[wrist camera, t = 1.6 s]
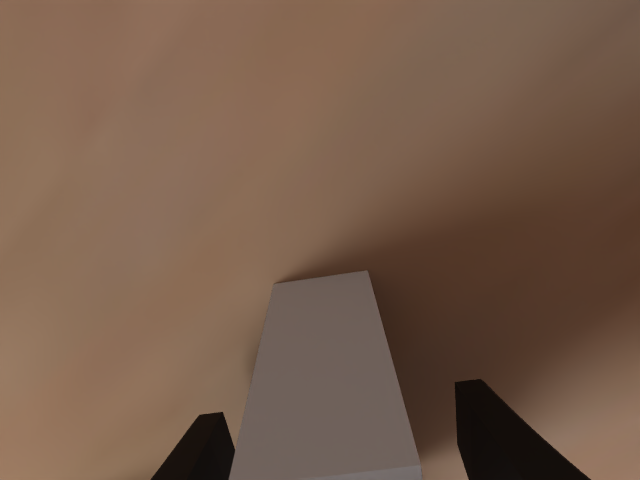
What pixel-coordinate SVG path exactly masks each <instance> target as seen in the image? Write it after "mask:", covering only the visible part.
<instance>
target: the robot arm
mask: <svg viewBox="0 0 640 480" xmlns="http://www.w3.org/2000/svg"><path fill="white" fill-rule="evenodd" d="M455 398H456V421H457V444H458V448H459V451H460V454H461V457H462V460H463V463H464V467H465V470H466V473H467V476H468V479H469V480H591V479H590V478H588V477H587V476H586V475H585V474H583V473H582V472H581V471H580V470H579V469H577V468H576V467H575V466H574V465H573V464H572V463H570V462H569V461H568V460H567V459H566V458H565V457H563V456H562V455H561V454H560V453H559V452H558V451H557V450H556V449H554V448H553V447H552V446H551V445H550V444H549V443H548V442H547V441H545V440H544V439H543V438H542V437H541V436H540V435H539V434H538V433H537V432H535V431H534V430H533V429H532V428H531V427H530V426H529V425H528V424H527V423H526V422H525V421H524V420H523V419H522V418H520V417H519V416H518V415H517V414H516V413H515V412H514V411H513V410H512V409H511V408H510V407H509V406H508V405H507V404H506V403H505V402H504V401H503V400H502V399H501V398H500V397H499V396H498V395H497V394H496V393H495V392H494V391H493V390H492V389H491V388H490V387H489V386H488V385H487V384H486V383H485V382H484V381H482V380H481V379H476V380H469V381H461V382H455ZM234 454H235V448H234V445H233V442H232V439H231V436H230V433H229V429H228V426H227V423H226V420H225V417H224V414H223V412H219V413H211V414H203V415H199V416H198V417H197V419H196V420H195V421H194V423H193V424H192V425H191V426H190V428H189V429H188V430H187V432H186V433H185V434H184V436H183V437H182V439H181V440H180V441H179V443H178V444H177V445H176V447H175V448H174V449H173V451H172V452H171V453H170V455H169V456H168V457H167V459H166V460H165V461H164V463H163V464H162V465H161V467H160V468H159V469H158V471H157V472H156V473H155V475H154V476H153V477H152V478H151V480H229V476H230V472H231V468H232V463H233V459H234Z"/></svg>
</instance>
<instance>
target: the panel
mask: <svg viewBox="0 0 640 480" xmlns="http://www.w3.org/2000/svg"><path fill="white" fill-rule="evenodd" d="M229 480H422V470H421V463H420V459H419V456H418V452H417V449H416V445H415V441H414V438H413V434H412V430H411V427H410V423H409V419H408V416H407V412H406V408H405V405H404V401H403V397H402V394H401V390H400V386H399V383H398V379H397V376H396V372H395V368H394V365H393V361H392V357H391V354H390V350H389V346H388V343H387V339H386V335H385V332H384V328H383V324H382V321H381V317H380V313H379V310H378V306H377V302H376V299H375V295H374V292H373V288H372V284H371V281H370V277H369V273H368V270H366V271H359V272H353V273H346V274H339V275H332V276H325V277H318V278H311V279H304V280H297V281H290V282H283V283H277V284H273V289H272V293H271V297H270V302H269V306H268V311H267V315H266V319H265V324H264V328H263V332H262V337H261V341H260V345H259V350H258V354H257V359H256V363H255V367H254V372H253V376H252V380H251V385H250V389H249V393H248V398H247V402H246V406H245V411H244V415H243V420H242V424H241V428H240V433H239V437H238V441H237V446H236V450H235V454H234V459H233V463H232V468H231V472H230V476H229Z"/></svg>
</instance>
